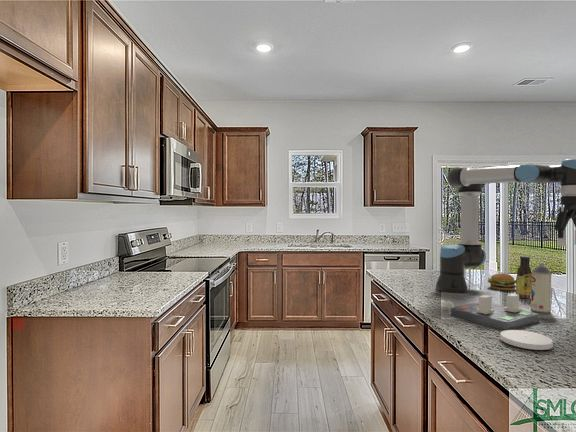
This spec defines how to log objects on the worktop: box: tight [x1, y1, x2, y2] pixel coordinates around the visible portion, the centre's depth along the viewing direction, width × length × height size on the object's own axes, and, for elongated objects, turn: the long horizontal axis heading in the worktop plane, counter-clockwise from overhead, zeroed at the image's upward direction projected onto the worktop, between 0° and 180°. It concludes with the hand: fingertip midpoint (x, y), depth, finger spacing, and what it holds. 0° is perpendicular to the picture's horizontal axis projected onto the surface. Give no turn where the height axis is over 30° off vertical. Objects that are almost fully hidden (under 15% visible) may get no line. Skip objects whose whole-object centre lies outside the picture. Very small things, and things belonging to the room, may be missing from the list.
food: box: [487, 273, 517, 291], centre depth 207 cm, size 14×14×8 cm
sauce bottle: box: [515, 255, 532, 299], centre depth 186 cm, size 6×6×20 cm
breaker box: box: [450, 301, 540, 331], centre depth 149 cm, size 22×22×3 cm
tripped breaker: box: [476, 294, 494, 314], centre depth 145 cm, size 4×5×6 cm
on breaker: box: [504, 293, 522, 313], centre depth 148 cm, size 4×5×6 cm
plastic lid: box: [499, 329, 554, 351], centre depth 121 cm, size 14×14×2 cm
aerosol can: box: [530, 262, 552, 315], centre depth 160 cm, size 7×7×20 cm
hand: (570, 245), depth 164 cm, fingers open, 13 cm apart
